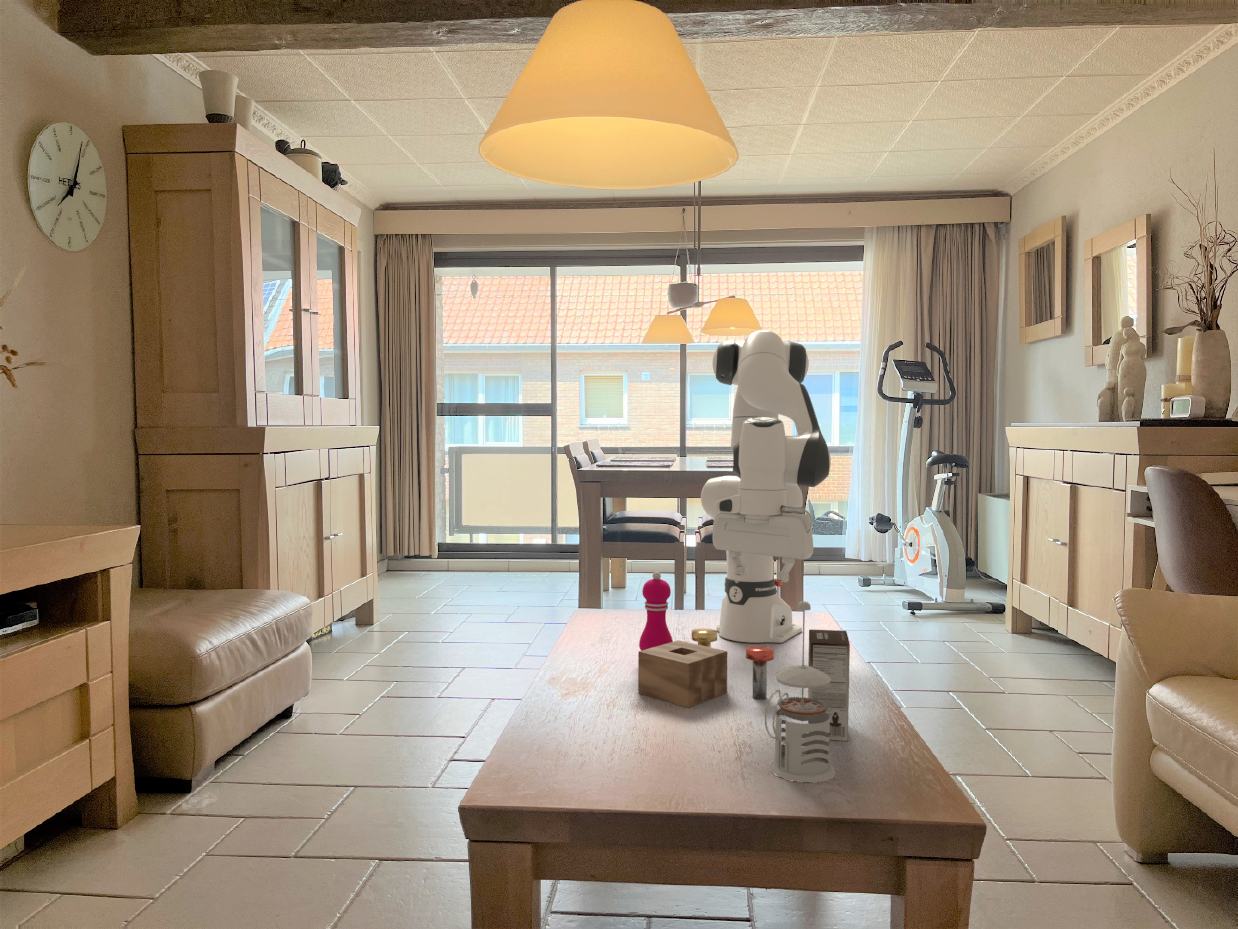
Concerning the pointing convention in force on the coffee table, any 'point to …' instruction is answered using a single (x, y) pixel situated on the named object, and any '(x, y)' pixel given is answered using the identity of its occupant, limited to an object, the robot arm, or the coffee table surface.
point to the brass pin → (704, 636)
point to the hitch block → (682, 673)
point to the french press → (801, 726)
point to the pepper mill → (655, 613)
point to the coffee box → (832, 677)
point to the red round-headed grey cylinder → (759, 668)
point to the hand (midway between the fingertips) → (760, 578)
